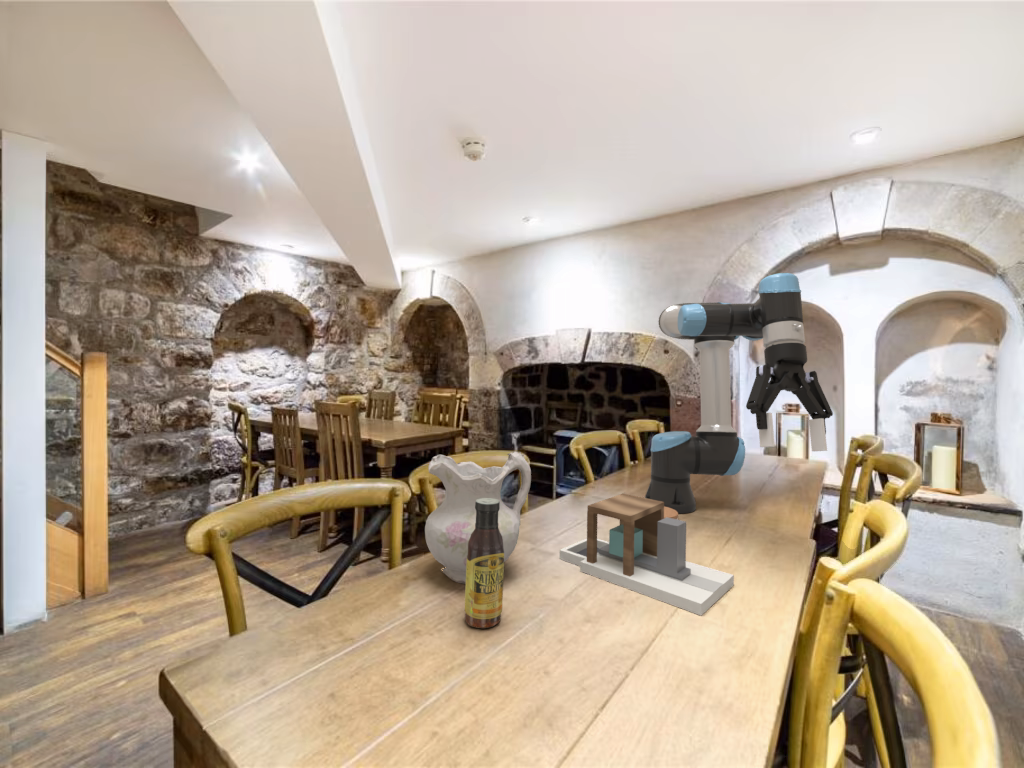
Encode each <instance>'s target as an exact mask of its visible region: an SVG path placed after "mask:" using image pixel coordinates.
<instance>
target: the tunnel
mask: <svg viewBox="0 0 1024 768" xmlns="http://www.w3.org/2000/svg"><path fill="white" fill-rule="evenodd" d="M586 512H587V513H586V538H587V562H589V563H592V564H593V563H595V562H597V539H598V515H600V516H604V517H608V518H612V519H616V520H619V525H621V524H623V525H624V532H623V574H624V575H627V576H629V577H630V576H632V575H633V574H634V528H638V529H642V530H643V553H646V554H649V555H653V556H656V557H657V528H658V521H660V520H662V519H664V502H662V501H657V500H652V499H647V498H645V497H641V496H639V495H638V496H636V495H631V494H627V493H621V494H617V495H614V496H612V497H608V498H606V499H603V500H600V501H597V502H593V503H591V504H589V505H587V511H586Z"/></svg>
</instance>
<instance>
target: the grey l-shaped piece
mask: <svg viewBox="0 0 1024 768" xmlns="http://www.w3.org/2000/svg"><path fill="white" fill-rule="evenodd" d="M598 553H599V554H602V555H605V556H608V557H611V558H614V559H617V560H620V561H623V557H620V556H616V555H613V554H610V553H609V544H607V545H605V546H603V547H601V548H599V549H598ZM686 561H687V521H685V520H681V519H678V520H677V519H672V518H668V517H666V518H664V519H662V520H660V521H658V528H657V559H656V558H653V557H650V556H647V555H643V554H640V555H639V556H637V557H635V558H634V565H636V566H639V567H642V568H645V569H648V570H651V571H654V572H657V573H660V574H664V575H667V576H670V577H673V578H676V579H679V580H683V579H684V578H686V577H687V576H689V575H690V574H691V569H690V568H686Z"/></svg>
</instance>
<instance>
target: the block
mask: <svg viewBox="0 0 1024 768" xmlns="http://www.w3.org/2000/svg"><path fill="white" fill-rule="evenodd" d="M608 532H609V533H608V534H609V535H608V536H609V538H608V539H609V540H608V542H609V553H610V554H613V555H616V556H620V557H623V532H624V525H623V524H621V525H620V524H619V525H617V526H614V527H613V528H610V529H609V531H608ZM642 552H643V530H642V529H638V528H634V558H635V557H637V556H639V555H640V554H642Z"/></svg>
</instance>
